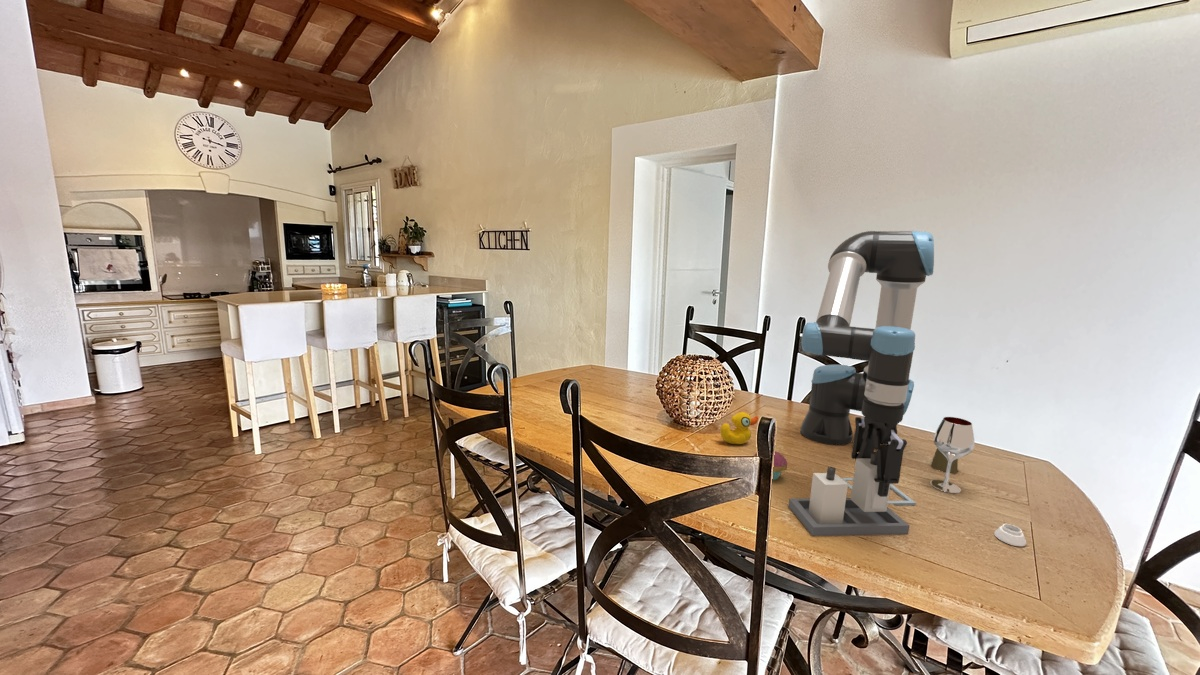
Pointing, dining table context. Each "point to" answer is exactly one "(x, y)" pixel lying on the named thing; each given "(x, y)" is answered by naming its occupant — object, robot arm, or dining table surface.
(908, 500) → the square frame
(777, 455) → the cupcake
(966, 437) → the wineglass
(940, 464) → the cork
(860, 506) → the white block with peg
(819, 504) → the white plug
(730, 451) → the dining table surface
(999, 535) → the white short tapered ring
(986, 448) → the dining table surface
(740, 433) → the duckling
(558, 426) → the dining table surface
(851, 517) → the two-slot grey rack
